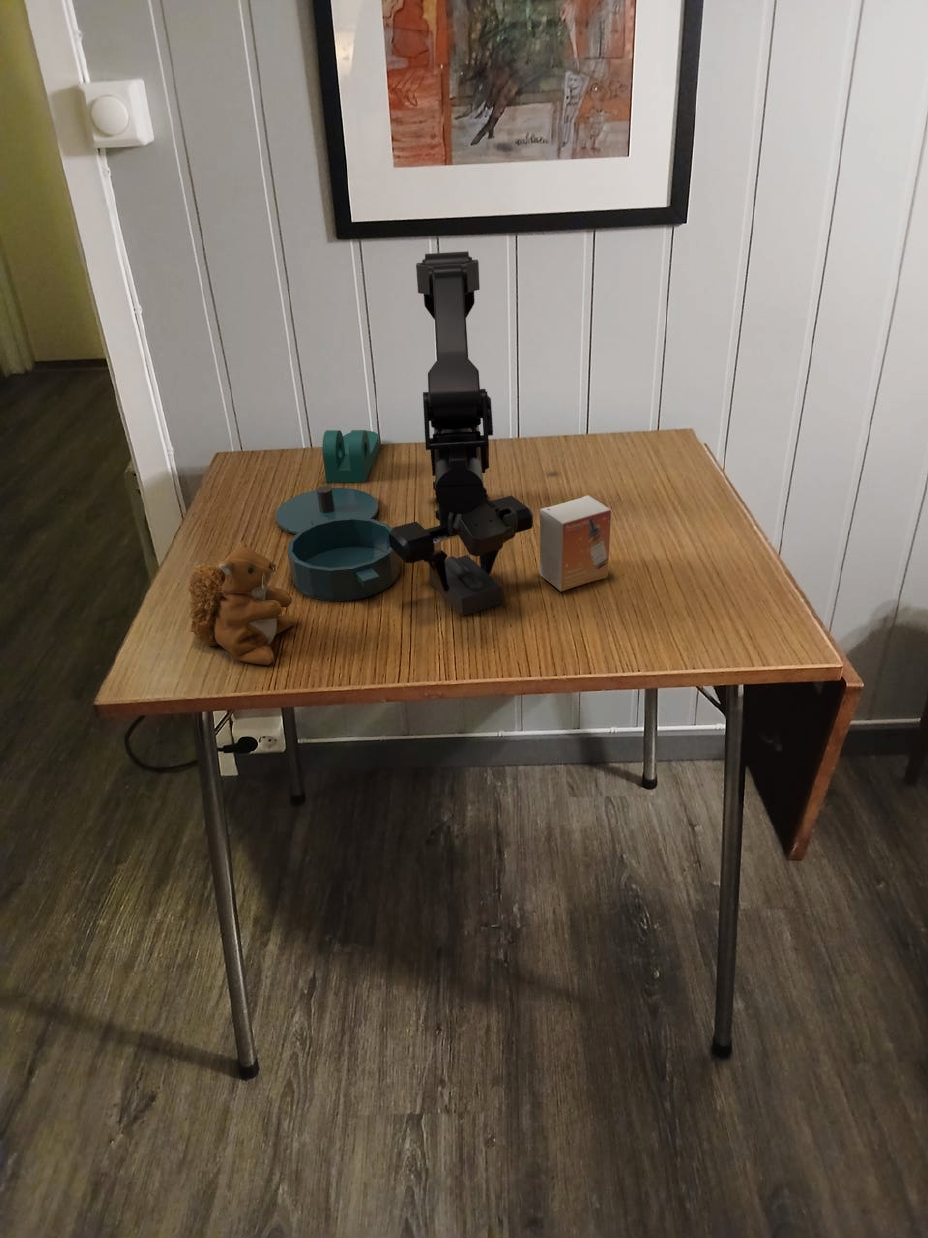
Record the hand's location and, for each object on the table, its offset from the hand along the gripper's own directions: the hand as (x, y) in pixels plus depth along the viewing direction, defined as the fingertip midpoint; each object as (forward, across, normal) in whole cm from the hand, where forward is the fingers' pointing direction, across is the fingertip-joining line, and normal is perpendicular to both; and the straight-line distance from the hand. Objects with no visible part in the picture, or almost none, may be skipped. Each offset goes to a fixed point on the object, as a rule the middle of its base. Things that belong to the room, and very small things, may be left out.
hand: (464, 583), depth 126 cm
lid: (+1, -8, +33) cm, 34 cm away
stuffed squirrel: (+2, -30, +5) cm, 30 cm away
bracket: (+2, +4, +51) cm, 51 cm away
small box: (+2, +15, -4) cm, 16 cm away
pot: (+2, -12, +14) cm, 18 cm away
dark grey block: (+2, 0, 0) cm, 2 cm away
